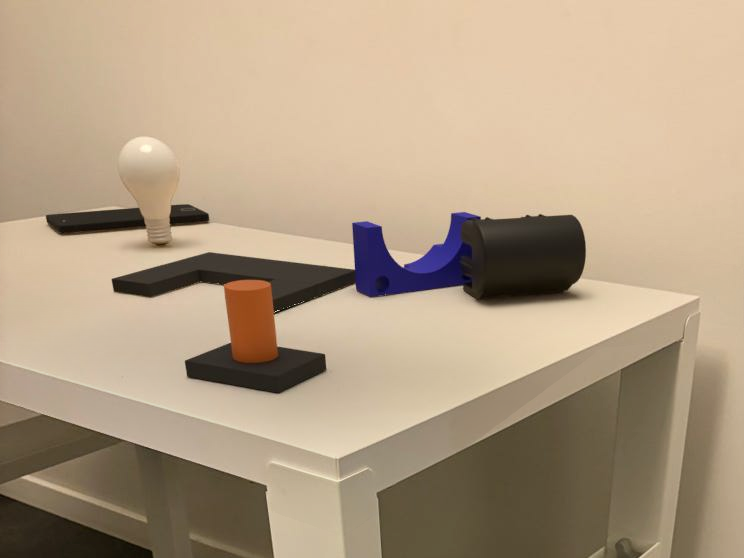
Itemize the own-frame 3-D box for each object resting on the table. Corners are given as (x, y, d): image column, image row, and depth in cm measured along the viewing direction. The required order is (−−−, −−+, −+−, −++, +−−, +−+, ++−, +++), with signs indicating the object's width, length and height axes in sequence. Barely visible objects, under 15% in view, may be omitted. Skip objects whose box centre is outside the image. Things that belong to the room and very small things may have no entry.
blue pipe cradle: (456, 273, 99) (456, 209, 96) (480, 282, 96) (480, 216, 93) (349, 287, 94) (345, 220, 91) (370, 297, 91) (366, 227, 88)
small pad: (186, 377, 70) (172, 287, 67) (238, 355, 75) (228, 270, 72) (278, 393, 68) (268, 300, 64) (326, 370, 72) (320, 282, 69)
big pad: (113, 292, 92) (111, 278, 91) (210, 264, 102) (208, 251, 102) (271, 314, 85) (270, 300, 85) (357, 282, 96) (356, 269, 95)
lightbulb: (121, 245, 110) (102, 135, 105) (173, 238, 114) (157, 132, 108) (148, 253, 106) (129, 140, 101) (200, 246, 110) (185, 136, 104)
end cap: (484, 307, 88) (485, 226, 84) (456, 289, 93) (456, 213, 90) (584, 298, 91) (589, 220, 87) (551, 281, 97) (555, 207, 93)
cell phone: (211, 221, 123) (210, 213, 122) (60, 234, 115) (58, 225, 114) (190, 211, 129) (188, 203, 128) (45, 222, 121) (44, 214, 121)
